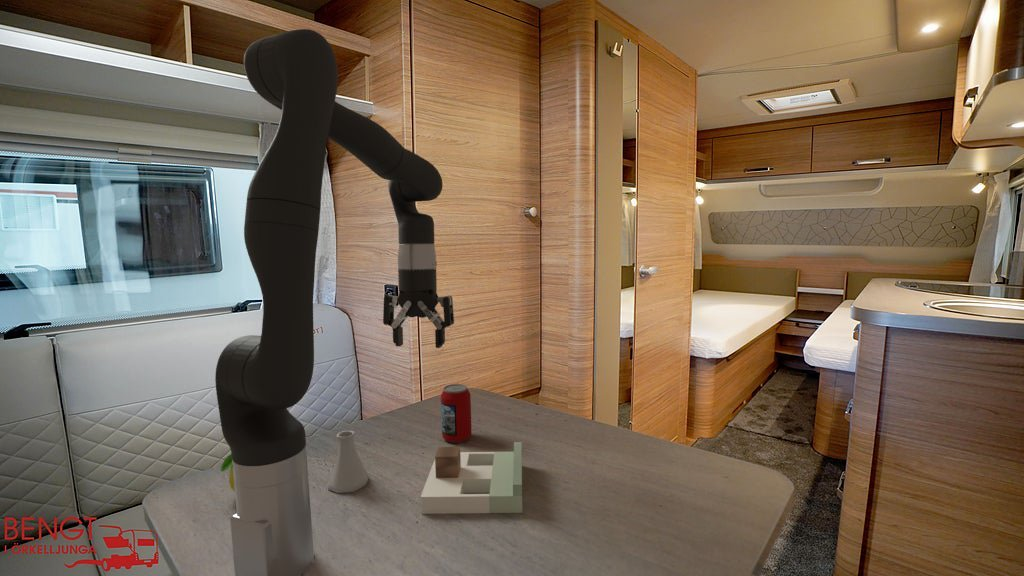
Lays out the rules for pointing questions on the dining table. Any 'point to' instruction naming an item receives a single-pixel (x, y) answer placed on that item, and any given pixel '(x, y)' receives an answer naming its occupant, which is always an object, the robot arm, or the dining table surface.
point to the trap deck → (477, 485)
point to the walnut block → (447, 462)
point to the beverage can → (456, 413)
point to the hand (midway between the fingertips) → (419, 346)
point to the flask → (347, 466)
